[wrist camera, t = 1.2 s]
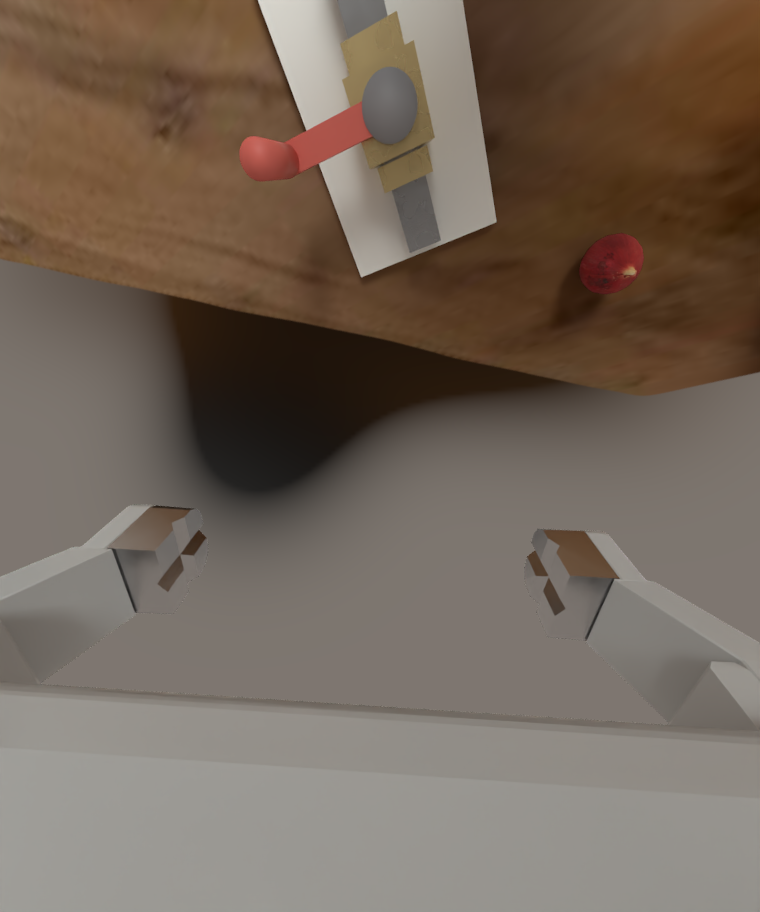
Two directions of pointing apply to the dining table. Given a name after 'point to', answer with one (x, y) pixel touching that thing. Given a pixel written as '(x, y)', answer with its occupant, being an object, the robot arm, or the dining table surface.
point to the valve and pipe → (404, 163)
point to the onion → (611, 263)
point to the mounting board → (347, 174)
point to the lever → (338, 130)
